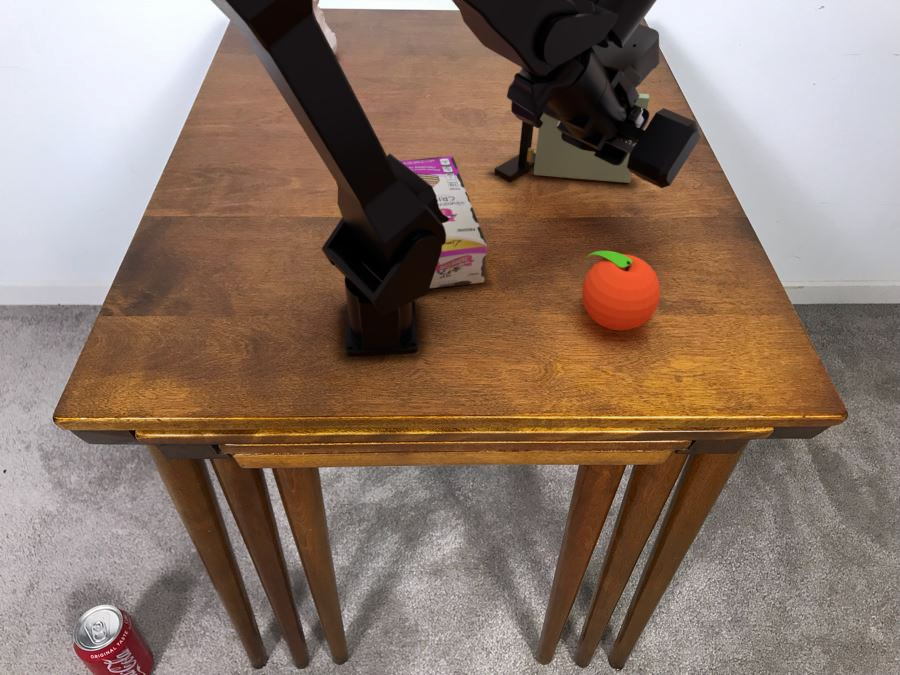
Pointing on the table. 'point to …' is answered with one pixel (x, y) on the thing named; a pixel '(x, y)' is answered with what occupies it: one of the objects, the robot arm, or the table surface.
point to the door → (575, 155)
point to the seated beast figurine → (325, 27)
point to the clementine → (620, 291)
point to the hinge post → (519, 157)
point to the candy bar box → (454, 224)
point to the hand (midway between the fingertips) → (622, 151)
